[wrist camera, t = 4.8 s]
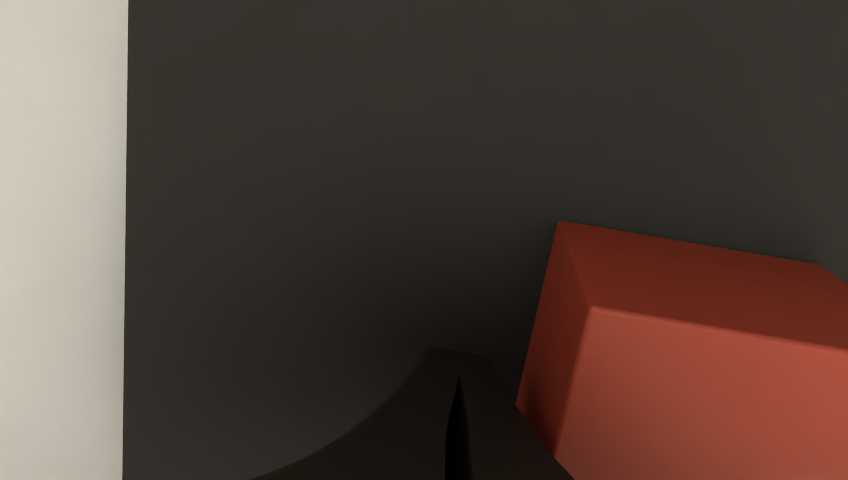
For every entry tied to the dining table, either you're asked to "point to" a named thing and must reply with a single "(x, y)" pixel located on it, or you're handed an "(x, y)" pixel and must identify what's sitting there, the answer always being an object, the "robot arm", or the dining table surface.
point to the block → (686, 361)
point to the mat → (432, 188)
